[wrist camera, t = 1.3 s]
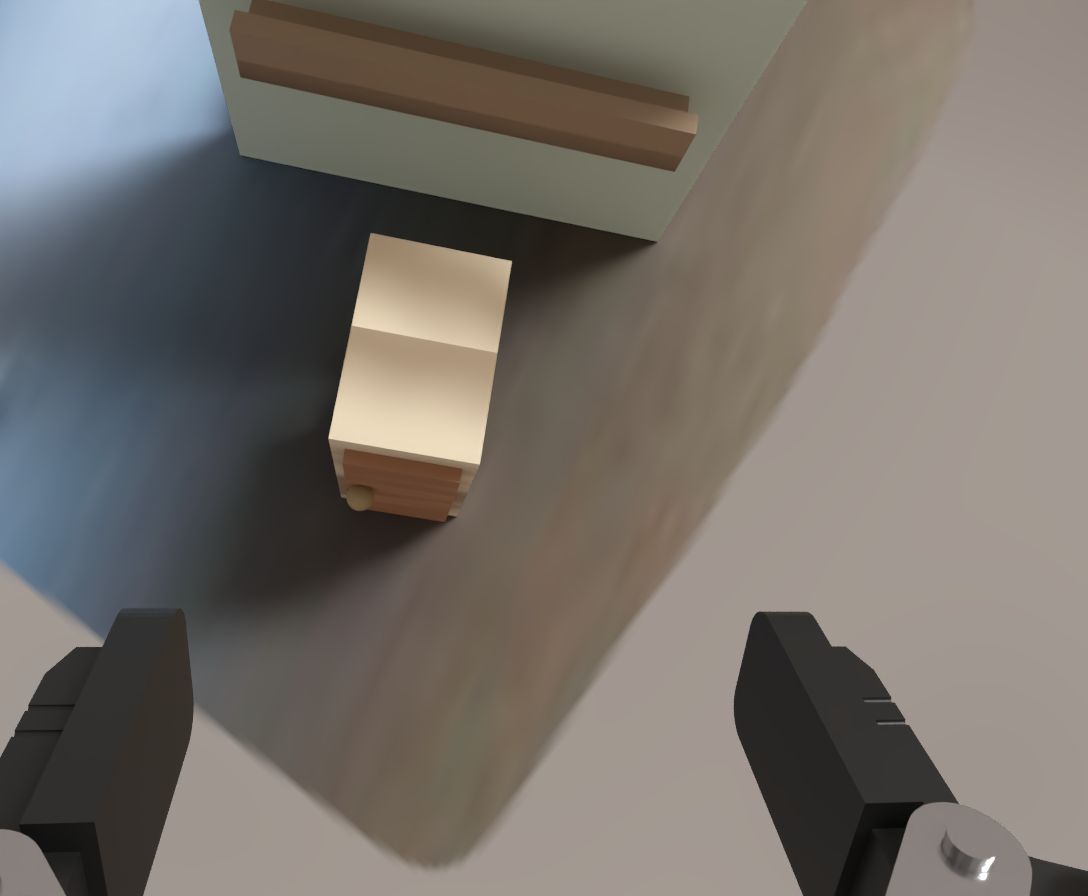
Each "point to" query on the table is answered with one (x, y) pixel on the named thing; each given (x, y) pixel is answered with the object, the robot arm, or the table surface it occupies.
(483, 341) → the wall cabinet
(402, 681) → the table surface
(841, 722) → the robot arm
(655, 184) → the wall board
